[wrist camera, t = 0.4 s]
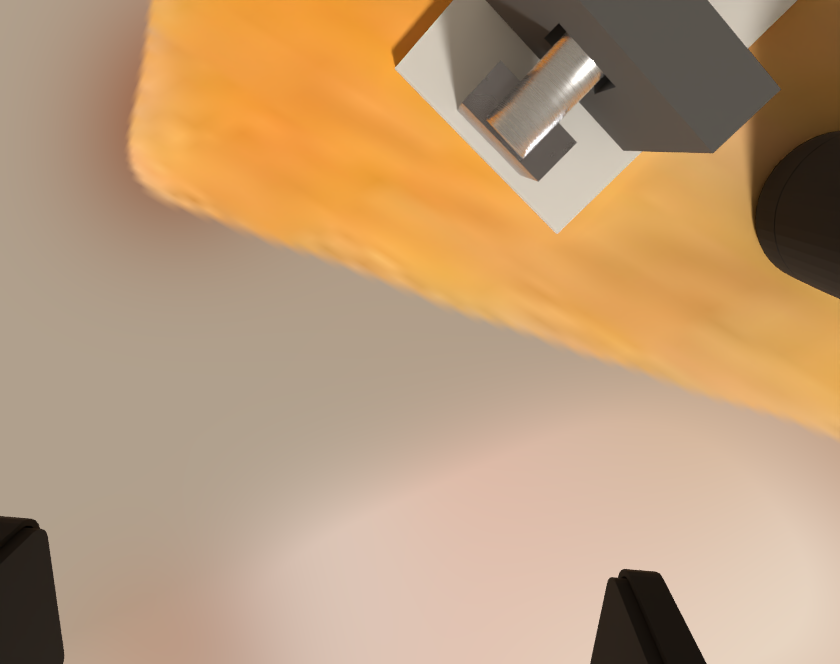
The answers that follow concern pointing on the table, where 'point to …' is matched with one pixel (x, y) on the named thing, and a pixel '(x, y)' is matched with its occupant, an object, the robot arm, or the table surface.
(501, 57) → the base board
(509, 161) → the pipe
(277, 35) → the table surface
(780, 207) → the pen holder
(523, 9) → the collar
